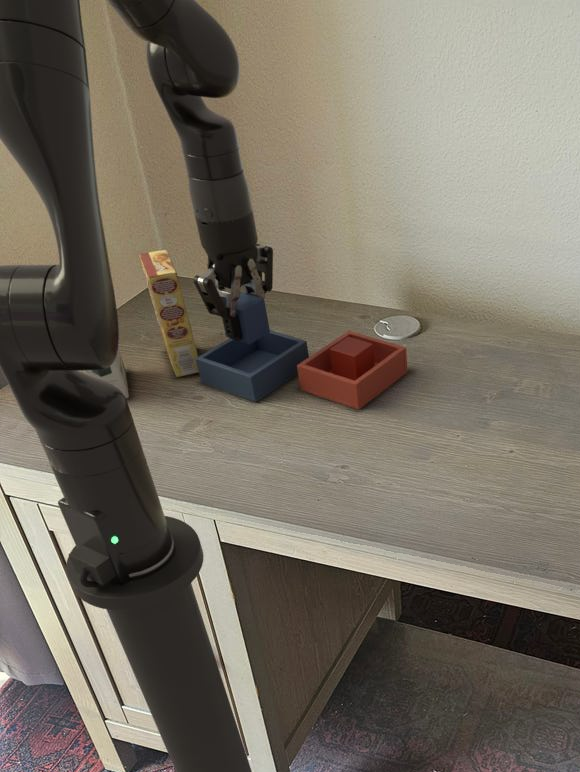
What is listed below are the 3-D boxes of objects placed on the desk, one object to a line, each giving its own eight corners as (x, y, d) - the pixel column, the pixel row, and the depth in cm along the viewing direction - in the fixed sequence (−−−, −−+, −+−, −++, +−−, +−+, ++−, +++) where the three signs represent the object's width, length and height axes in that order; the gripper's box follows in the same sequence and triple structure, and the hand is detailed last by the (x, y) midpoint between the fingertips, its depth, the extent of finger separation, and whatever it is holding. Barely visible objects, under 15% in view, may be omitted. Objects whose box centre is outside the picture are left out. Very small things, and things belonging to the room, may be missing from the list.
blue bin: (255, 402, 125) (250, 377, 122) (201, 383, 128) (195, 358, 125) (310, 365, 132) (306, 340, 129) (257, 348, 136) (252, 324, 133)
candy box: (203, 373, 130) (178, 271, 119) (175, 378, 129) (147, 276, 118) (192, 347, 136) (167, 248, 125) (165, 352, 135) (137, 253, 124)
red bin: (358, 409, 123) (356, 384, 120) (300, 390, 127) (296, 365, 124) (407, 372, 131) (406, 347, 128) (351, 354, 135) (348, 330, 132)
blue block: (249, 344, 124) (243, 311, 120) (226, 337, 125) (218, 303, 122) (270, 331, 126) (264, 298, 123) (246, 324, 128) (240, 291, 124)
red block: (358, 388, 126) (354, 356, 123) (333, 380, 128) (329, 348, 124) (375, 375, 129) (372, 343, 126) (351, 367, 131) (348, 336, 127)
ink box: (93, 375, 130) (66, 299, 121) (127, 370, 131) (103, 294, 122) (93, 404, 124) (65, 326, 116) (129, 399, 125) (104, 321, 117)
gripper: (237, 186, 119) (260, 306, 131) (162, 220, 110) (194, 345, 122) (280, 196, 116) (299, 318, 128) (206, 232, 108) (234, 359, 120)
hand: (247, 331), depth 125 cm, fingers closed on blue block, 4 cm apart
